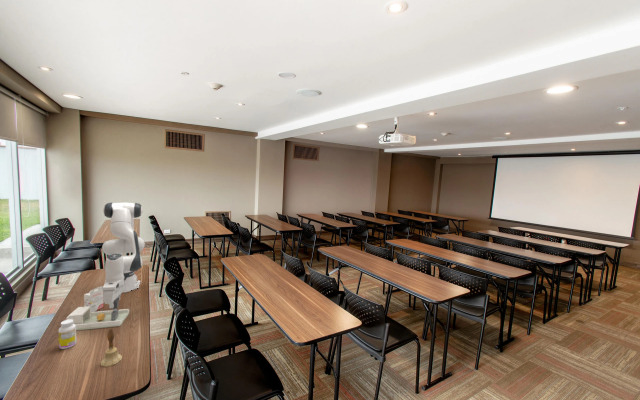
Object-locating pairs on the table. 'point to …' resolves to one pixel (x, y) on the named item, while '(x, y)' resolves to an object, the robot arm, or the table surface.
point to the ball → (100, 316)
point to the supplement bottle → (67, 334)
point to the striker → (115, 310)
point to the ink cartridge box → (94, 299)
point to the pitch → (95, 318)
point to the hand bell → (111, 352)
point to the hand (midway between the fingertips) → (114, 304)
